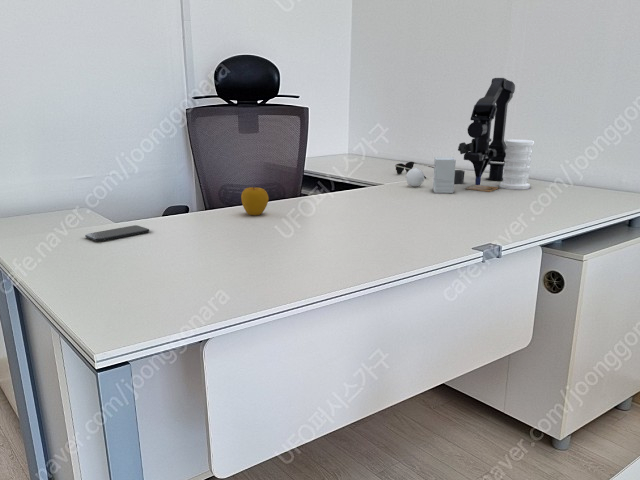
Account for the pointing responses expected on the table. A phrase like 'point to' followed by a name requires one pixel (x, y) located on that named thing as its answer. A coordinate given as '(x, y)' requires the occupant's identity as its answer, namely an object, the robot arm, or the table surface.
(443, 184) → the white packaging box
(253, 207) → the apple
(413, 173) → the white ball
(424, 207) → the table surface
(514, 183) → the decorative container
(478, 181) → the marker
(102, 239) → the smartphone
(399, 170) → the sunglasses
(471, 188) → the sketch board
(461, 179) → the pen cup
